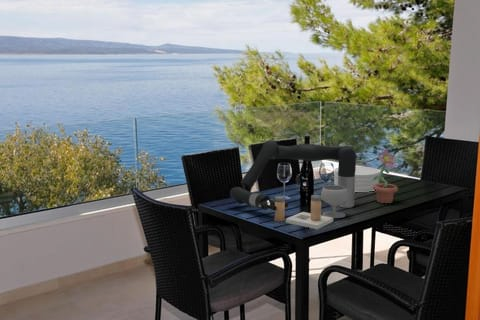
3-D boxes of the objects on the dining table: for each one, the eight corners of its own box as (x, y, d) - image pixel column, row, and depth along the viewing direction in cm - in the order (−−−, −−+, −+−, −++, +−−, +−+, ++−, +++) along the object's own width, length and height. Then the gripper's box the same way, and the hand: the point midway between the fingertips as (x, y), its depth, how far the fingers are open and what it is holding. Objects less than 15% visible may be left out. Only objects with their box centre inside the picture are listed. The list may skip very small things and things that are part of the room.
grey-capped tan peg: (278, 218, 275) (278, 195, 272) (286, 219, 272) (286, 196, 269) (272, 220, 271) (272, 197, 269) (280, 222, 268) (281, 198, 266)
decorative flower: (383, 206, 295) (385, 153, 290) (365, 201, 307) (367, 150, 301) (402, 203, 302) (405, 151, 297) (384, 198, 314) (386, 147, 309)
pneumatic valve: (295, 192, 329) (295, 173, 327) (309, 189, 336) (310, 170, 334) (300, 193, 325) (301, 174, 323) (315, 191, 331) (315, 172, 329)
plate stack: (345, 194, 324) (346, 175, 322) (327, 184, 351) (327, 167, 349) (387, 191, 331) (388, 173, 329) (365, 182, 357) (366, 165, 355)
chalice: (344, 211, 286) (345, 184, 283) (350, 219, 272) (351, 190, 269) (318, 212, 285) (318, 184, 283) (323, 219, 272) (323, 190, 269)
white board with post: (302, 215, 279) (302, 189, 276) (333, 221, 268) (334, 194, 266) (285, 222, 267) (286, 195, 264) (317, 229, 256) (317, 201, 253)
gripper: (249, 196, 275) (272, 202, 263) (269, 191, 285) (291, 197, 273) (249, 210, 277) (272, 216, 265) (269, 205, 286) (291, 211, 274)
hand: (282, 206), depth 269 cm, fingers open, 8 cm apart
